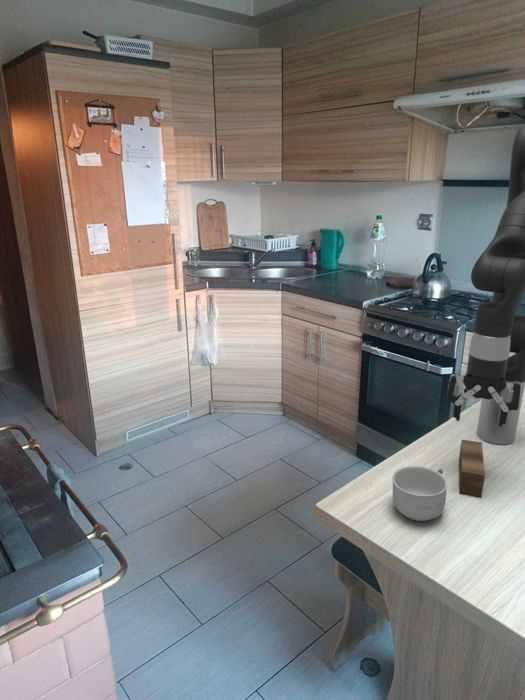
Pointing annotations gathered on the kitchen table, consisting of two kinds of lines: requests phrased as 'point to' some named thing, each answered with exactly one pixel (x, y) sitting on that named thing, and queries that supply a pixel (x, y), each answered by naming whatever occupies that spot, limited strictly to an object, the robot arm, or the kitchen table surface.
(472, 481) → the walnut beam
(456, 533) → the kitchen table surface
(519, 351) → the robot arm
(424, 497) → the teacup
